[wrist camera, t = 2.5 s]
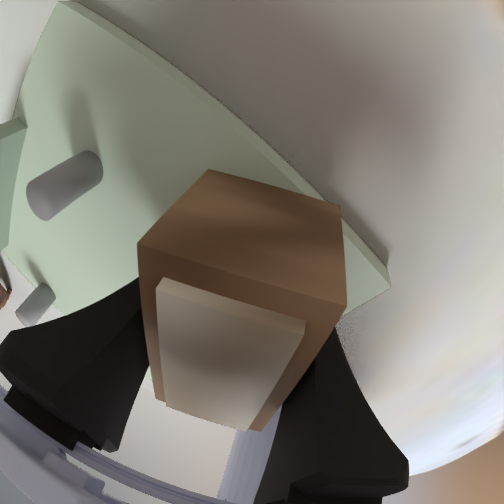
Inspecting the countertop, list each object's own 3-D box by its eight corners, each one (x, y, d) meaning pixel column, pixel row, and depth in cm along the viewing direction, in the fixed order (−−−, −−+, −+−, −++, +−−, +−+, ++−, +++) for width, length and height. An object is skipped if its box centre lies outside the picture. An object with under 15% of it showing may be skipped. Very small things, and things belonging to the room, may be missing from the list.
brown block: (340, 205, 9) (347, 321, 5) (278, 347, 14) (258, 440, 10) (208, 169, 10) (126, 254, 6) (191, 321, 14) (152, 406, 10)
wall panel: (387, 268, 12) (402, 347, 8) (177, 381, 21) (158, 425, 18) (77, 2, 7) (2, 3, 4) (6, 238, 17) (-28, 269, 14)
